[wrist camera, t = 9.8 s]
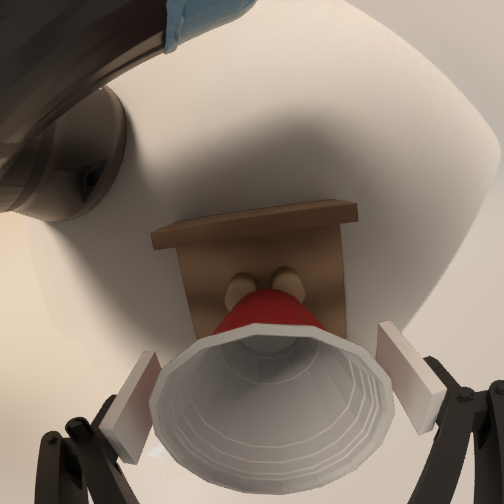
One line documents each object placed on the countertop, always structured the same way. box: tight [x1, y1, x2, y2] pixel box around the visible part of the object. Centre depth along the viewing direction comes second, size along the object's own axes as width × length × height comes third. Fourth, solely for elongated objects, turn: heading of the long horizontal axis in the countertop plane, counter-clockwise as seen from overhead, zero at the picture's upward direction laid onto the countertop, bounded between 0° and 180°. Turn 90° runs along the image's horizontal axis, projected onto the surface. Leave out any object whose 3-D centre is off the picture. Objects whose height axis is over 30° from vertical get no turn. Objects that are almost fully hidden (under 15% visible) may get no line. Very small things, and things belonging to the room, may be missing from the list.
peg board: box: [151, 199, 358, 340], centre depth 23 cm, size 16×14×6 cm
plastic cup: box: [149, 289, 395, 495], centre depth 16 cm, size 11×11×12 cm
